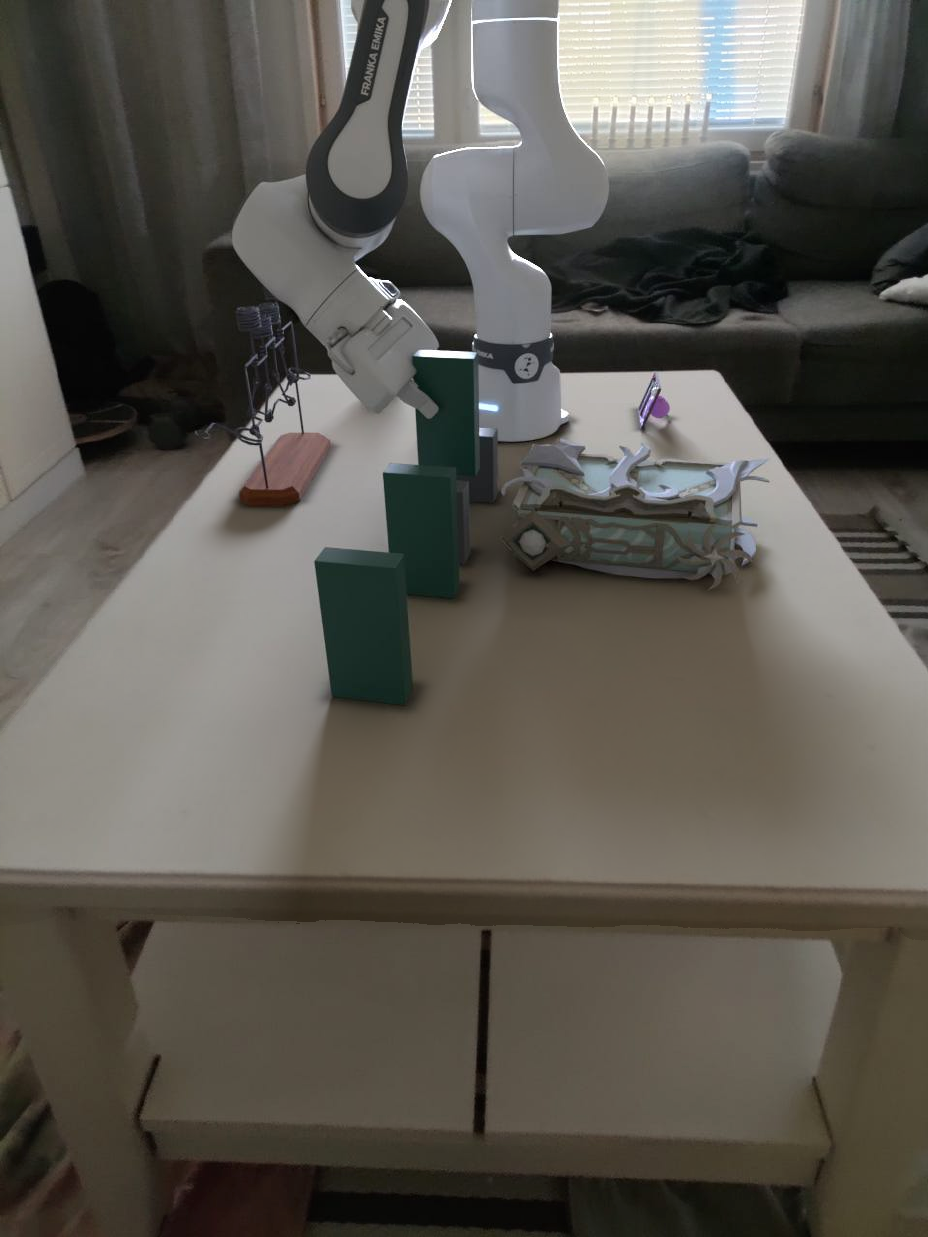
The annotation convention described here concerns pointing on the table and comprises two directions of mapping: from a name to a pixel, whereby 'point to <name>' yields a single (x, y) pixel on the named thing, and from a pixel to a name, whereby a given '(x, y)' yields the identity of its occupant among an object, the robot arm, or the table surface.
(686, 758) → the table surface
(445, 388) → the green book
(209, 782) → the table surface
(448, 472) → the green books
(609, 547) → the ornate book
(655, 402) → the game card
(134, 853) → the table surface
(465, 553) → the grey books
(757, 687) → the table surface
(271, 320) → the figure sculpture
